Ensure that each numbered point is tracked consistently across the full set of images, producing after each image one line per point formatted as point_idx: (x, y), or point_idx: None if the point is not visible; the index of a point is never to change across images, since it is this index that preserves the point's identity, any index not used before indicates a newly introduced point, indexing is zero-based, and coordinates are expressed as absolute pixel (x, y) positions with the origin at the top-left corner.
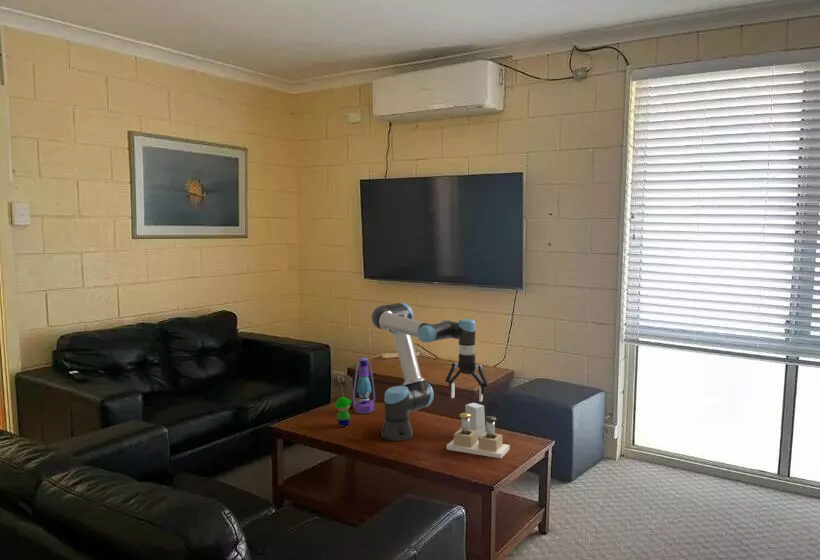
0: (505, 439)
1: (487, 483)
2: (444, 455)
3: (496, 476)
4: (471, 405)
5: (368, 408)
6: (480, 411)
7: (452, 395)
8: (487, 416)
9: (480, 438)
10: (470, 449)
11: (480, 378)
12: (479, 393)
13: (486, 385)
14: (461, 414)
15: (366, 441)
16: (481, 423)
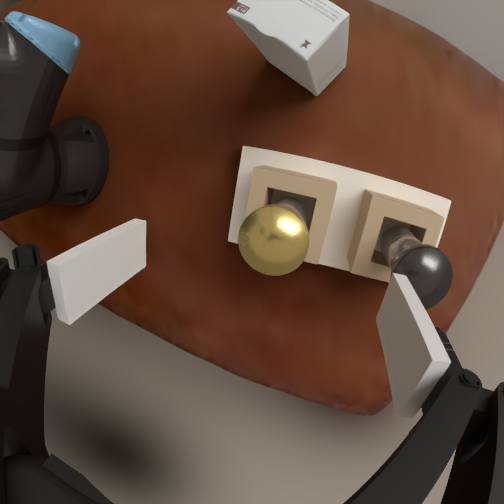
0: (423, 96)
1: (365, 413)
2: (239, 286)
3: (389, 386)
4: (267, 18)
5: None
6: (331, 45)
7: (132, 275)
8: (408, 262)
9: (358, 274)
10: (318, 262)
11: (446, 462)
12: (387, 368)
13: (471, 441)
14: (249, 250)
15: (48, 222)
16: (334, 63)
